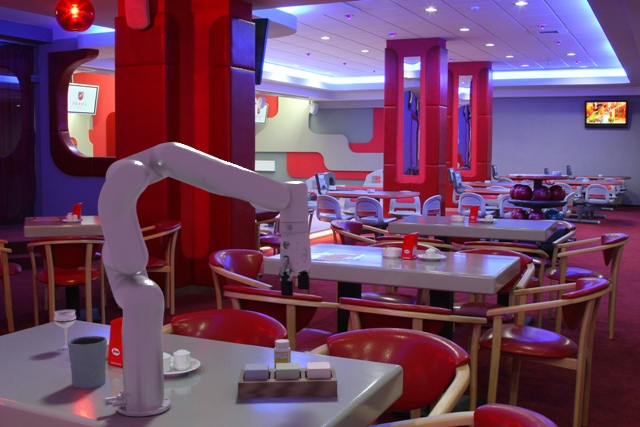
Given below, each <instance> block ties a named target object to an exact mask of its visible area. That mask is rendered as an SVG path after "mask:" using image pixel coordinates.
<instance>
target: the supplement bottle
mask: <svg viewBox="0 0 640 427" xmlns="http://www.w3.org/2000/svg"><path fill="white" fill-rule="evenodd" d="M274 346H275V347H274V348H273V355H274V356H273V365H274V366H273V367H274V368H273V369H276V363H292V361H291V353H292V352H291V350H292V349H291V347H290V341H289V339H283V338H282V339H281V338H280V339H276V340H274Z"/></svg>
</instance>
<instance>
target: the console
mask: <svg viewBox="0 0 640 427" xmlns="http://www.w3.org/2000/svg"><path fill="white" fill-rule="evenodd" d="M330 368H331V378H307V367H299V379H276V369H274V368H269V379H253V380H245V371H244V370H245V368H243V369H242V368H241V369H240V373H239V376H238V381H237V398H238V399H257V398H258V399H268V398H269V399H272V398H316V397H315V396H323V397H338V378H337V374H336V369H335V367H334V366H333V367H331V366H330Z"/></svg>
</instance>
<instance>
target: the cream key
mask: <svg viewBox="0 0 640 427" xmlns="http://www.w3.org/2000/svg"><path fill="white" fill-rule="evenodd" d="M330 367H331V365H330V362H329V361H323V362H321V361H320V362H319V361H318V362H314V361H313V362H306V368H307V378H331V368H330Z"/></svg>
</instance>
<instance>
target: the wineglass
mask: <svg viewBox="0 0 640 427" xmlns="http://www.w3.org/2000/svg"><path fill="white" fill-rule="evenodd" d="M53 313H54V316H53V319H54V323H55V324H56V325H57V326H58V327H61V328H62V329H63V330H64V345H63V346H62V347H63V348H67V347H68V341H67V340H68V339H67V335H68V331H67V330H68V329H69V327H71V326H73V324H75V322H76V320H77V315H76V309H72V308H71V309H68V308H67V309H59V310H55V311H53Z"/></svg>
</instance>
